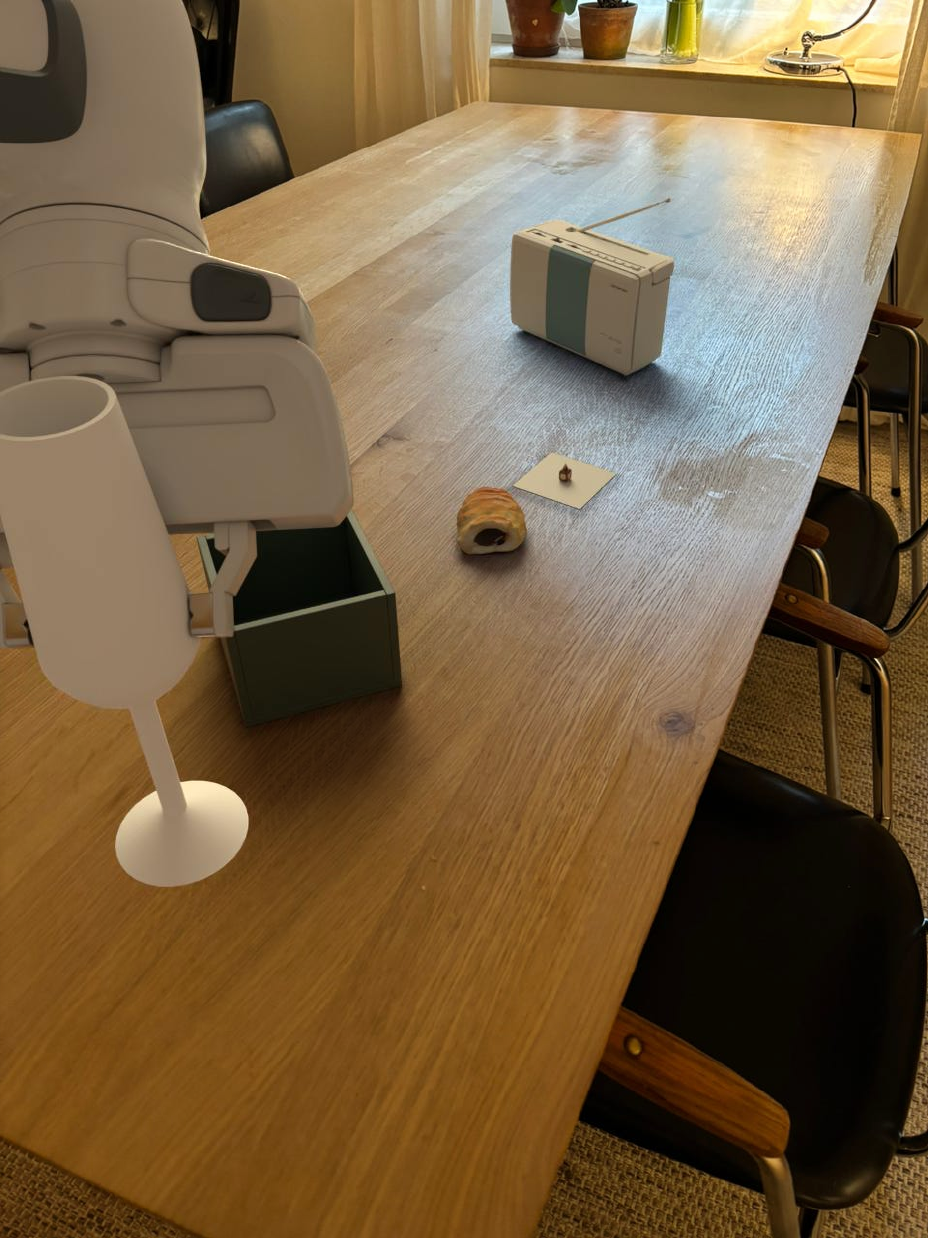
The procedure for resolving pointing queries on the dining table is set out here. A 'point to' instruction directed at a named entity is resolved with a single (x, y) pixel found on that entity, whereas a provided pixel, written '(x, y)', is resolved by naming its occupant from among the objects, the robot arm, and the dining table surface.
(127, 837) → the champagne flute
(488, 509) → the pastry
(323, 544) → the bin
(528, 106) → the dining table surface
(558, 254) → the radio
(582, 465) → the beige flat slab
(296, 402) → the robot arm
